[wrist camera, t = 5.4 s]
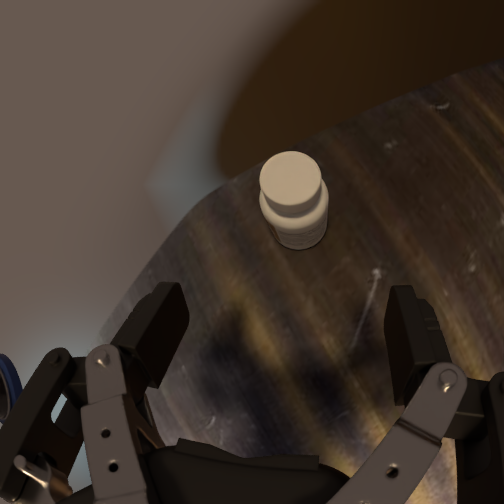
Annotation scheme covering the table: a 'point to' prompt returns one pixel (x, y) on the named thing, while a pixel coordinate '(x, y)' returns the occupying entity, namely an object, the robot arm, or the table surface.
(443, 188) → the table surface
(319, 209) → the pill bottle
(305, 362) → the table surface
